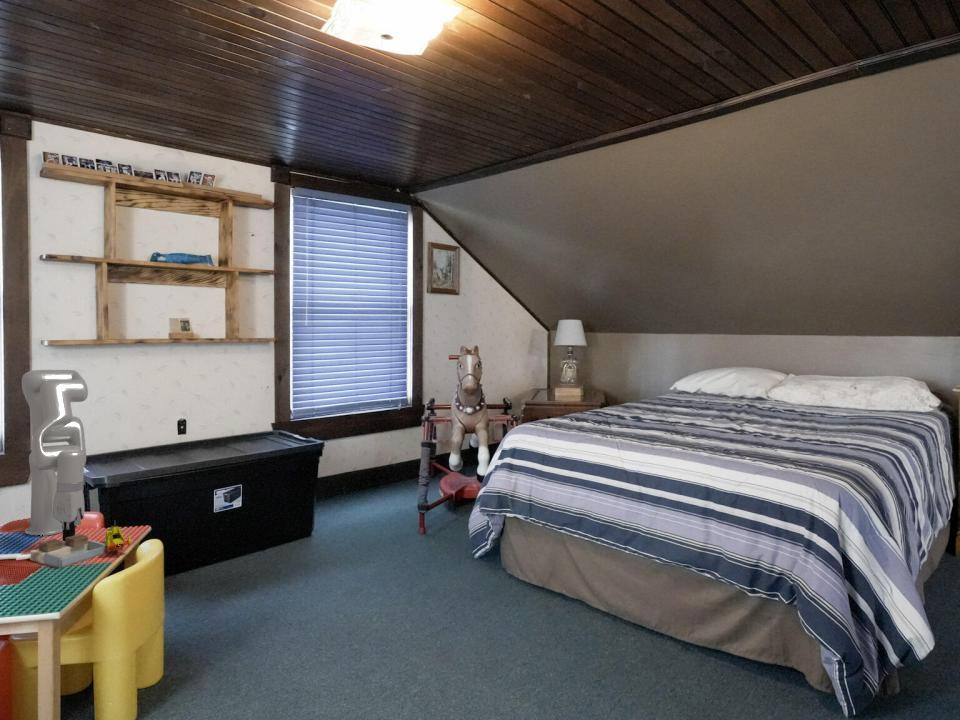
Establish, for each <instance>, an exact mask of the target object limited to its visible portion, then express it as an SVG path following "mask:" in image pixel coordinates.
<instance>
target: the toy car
mask: <svg viewBox="0 0 960 720" xmlns="http://www.w3.org/2000/svg"><path fill="white" fill-rule="evenodd" d="M116 523H117V522H116V520H115V519H114V522H113V526H111V527H110V528H108V529H107V531H106V532H105V542H104V544H105V548H107V550H108V551H110V552H112V551H113V552H115V551H116V553H117V556H118V555H119V556H120V555H121V554H122V550H123V548H124V546H125V545H126V546H131V536H127V540H125V539H124V534H123V533H121V532H124V529H121V528H119V525H117V524H116ZM118 544H119V545H121V546H122V547H121V546H118ZM116 546H117V547H116ZM114 550H115V551H114Z"/></svg>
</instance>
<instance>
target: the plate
mask: <svg viewBox="0 0 960 720" xmlns="http://www.w3.org/2000/svg"><path fill="white" fill-rule="evenodd" d="M84 550H88V544H85V545H81V546H78V547H71V546H67V545H66V541H62V549H58V550H55V551H51V552H48V553H50V554H54V555H57V556H61V557H64V556H68V555H71V554H74V553H78V552H81V551H84ZM44 553H47V552H44V551H40V550H39V548H37V549H36V548H35V549H33V550H30V561H32V562H36V563H39V564H42V565H45V564H44Z"/></svg>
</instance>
